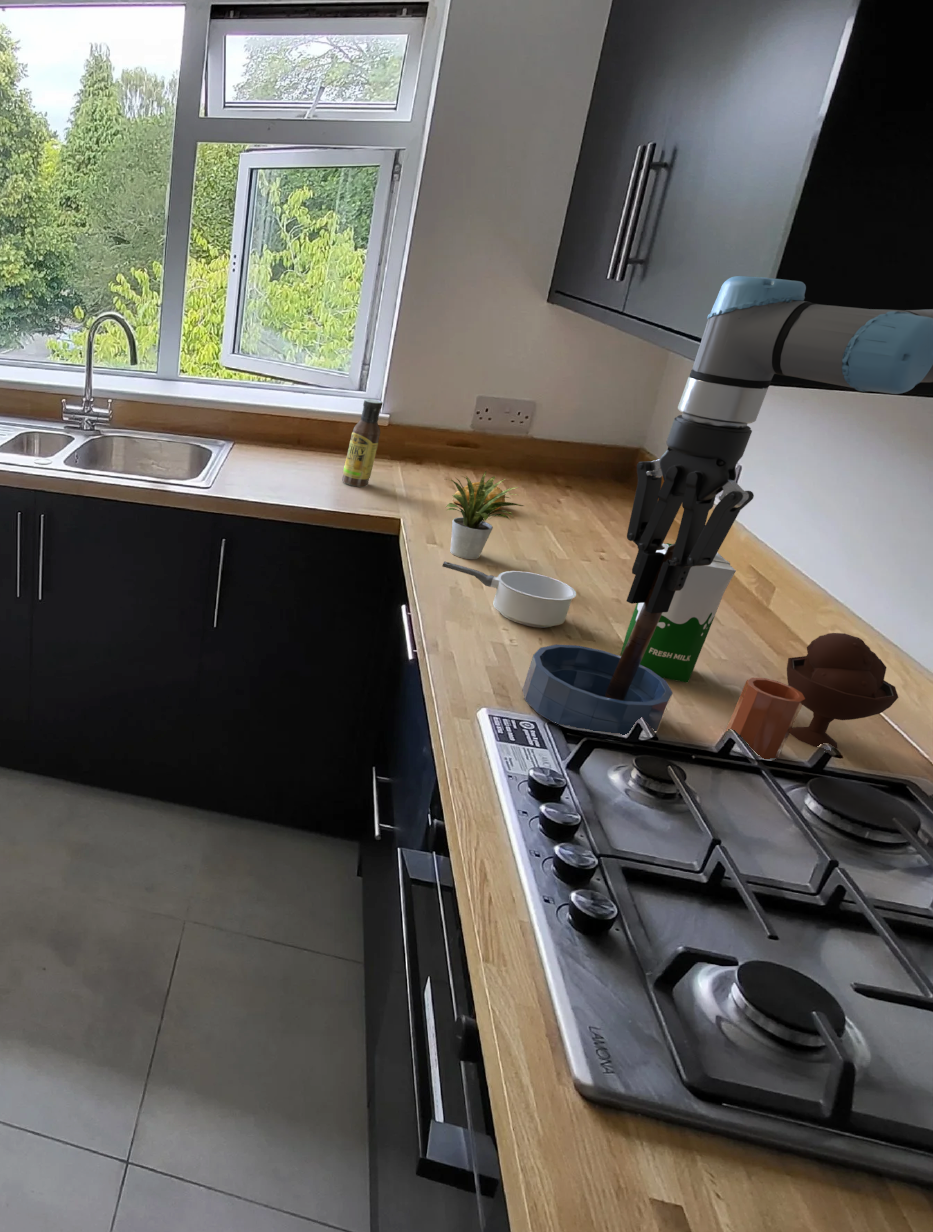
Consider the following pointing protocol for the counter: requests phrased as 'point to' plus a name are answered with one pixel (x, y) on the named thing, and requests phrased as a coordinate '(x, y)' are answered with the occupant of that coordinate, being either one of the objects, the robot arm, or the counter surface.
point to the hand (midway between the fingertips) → (646, 606)
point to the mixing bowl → (591, 690)
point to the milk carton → (685, 620)
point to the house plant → (475, 518)
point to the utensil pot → (766, 715)
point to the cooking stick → (636, 644)
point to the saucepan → (526, 596)
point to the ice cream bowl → (838, 684)
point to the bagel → (475, 486)
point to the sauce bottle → (363, 445)
